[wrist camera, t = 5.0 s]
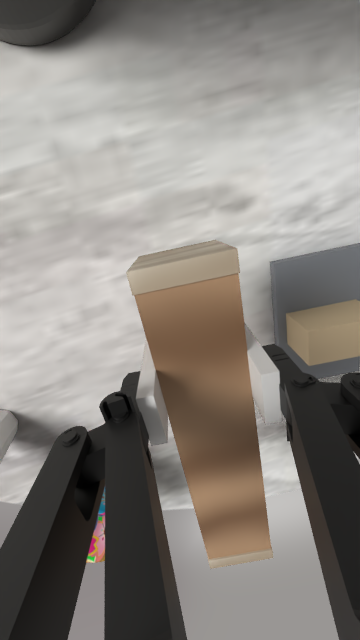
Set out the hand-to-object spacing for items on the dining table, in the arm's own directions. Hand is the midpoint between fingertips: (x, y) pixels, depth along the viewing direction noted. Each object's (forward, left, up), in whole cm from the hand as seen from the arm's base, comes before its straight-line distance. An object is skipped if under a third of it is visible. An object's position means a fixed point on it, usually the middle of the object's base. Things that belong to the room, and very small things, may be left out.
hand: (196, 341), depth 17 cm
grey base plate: (+7, +15, -13) cm, 21 cm away
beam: (+5, 0, 0) cm, 5 cm away
